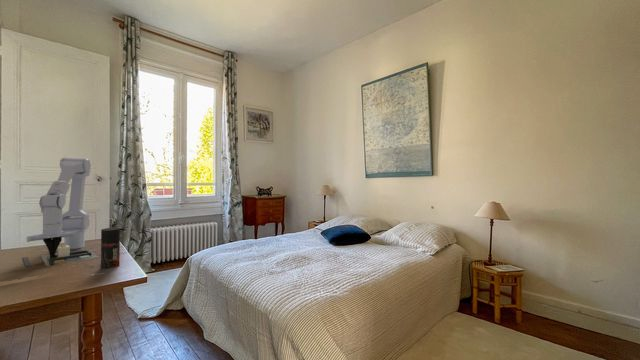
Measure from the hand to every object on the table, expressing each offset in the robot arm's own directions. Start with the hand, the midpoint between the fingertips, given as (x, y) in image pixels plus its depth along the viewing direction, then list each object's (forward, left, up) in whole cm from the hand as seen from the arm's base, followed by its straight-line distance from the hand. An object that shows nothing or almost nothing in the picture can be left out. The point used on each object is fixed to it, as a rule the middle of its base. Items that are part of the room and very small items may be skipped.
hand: (52, 256), depth 113 cm
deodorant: (+23, +14, -3) cm, 27 cm away
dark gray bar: (-2, -7, -2) cm, 8 cm away
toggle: (0, +3, -1) cm, 4 cm away
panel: (0, +5, -2) cm, 6 cm away
